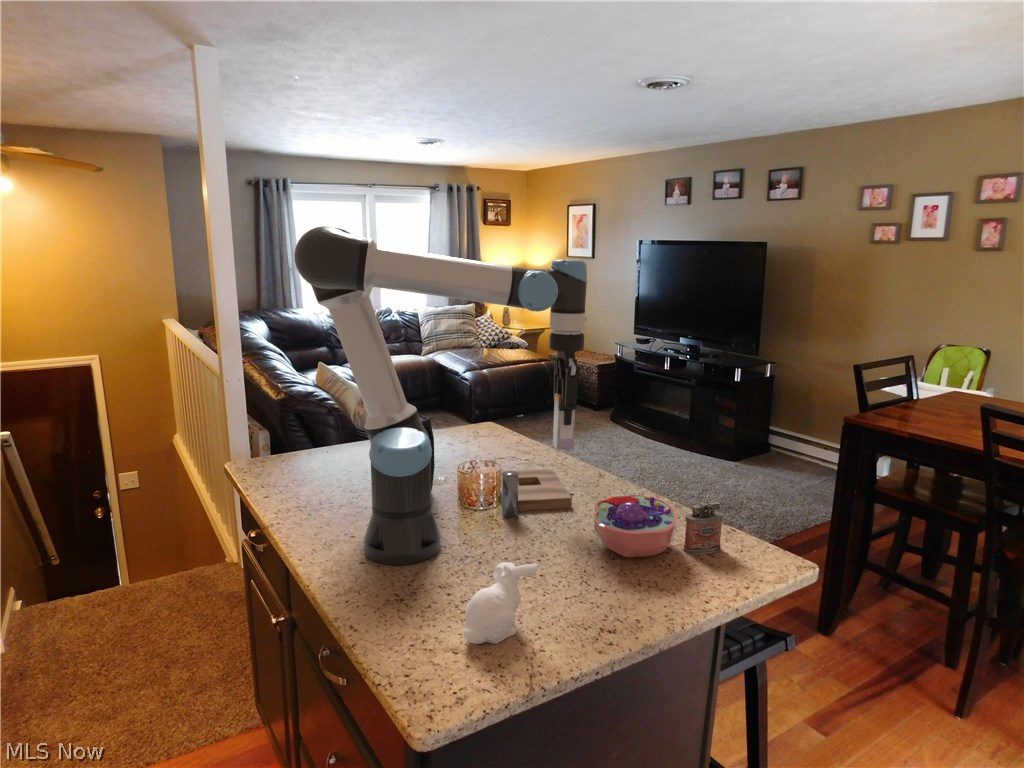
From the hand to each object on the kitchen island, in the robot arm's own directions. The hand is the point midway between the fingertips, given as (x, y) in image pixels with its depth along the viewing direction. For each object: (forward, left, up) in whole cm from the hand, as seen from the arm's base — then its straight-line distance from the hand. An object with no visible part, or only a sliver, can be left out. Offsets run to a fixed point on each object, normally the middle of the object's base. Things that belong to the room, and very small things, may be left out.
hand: (563, 435), depth 140 cm
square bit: (0, 0, -3) cm, 3 cm away
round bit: (0, +12, -19) cm, 22 cm away
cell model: (-20, -10, -19) cm, 29 cm away
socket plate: (+12, +5, -19) cm, 23 cm away
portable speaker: (+15, +33, -19) cm, 41 cm away
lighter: (-22, -24, -19) cm, 38 cm away
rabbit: (-43, +21, -19) cm, 51 cm away
